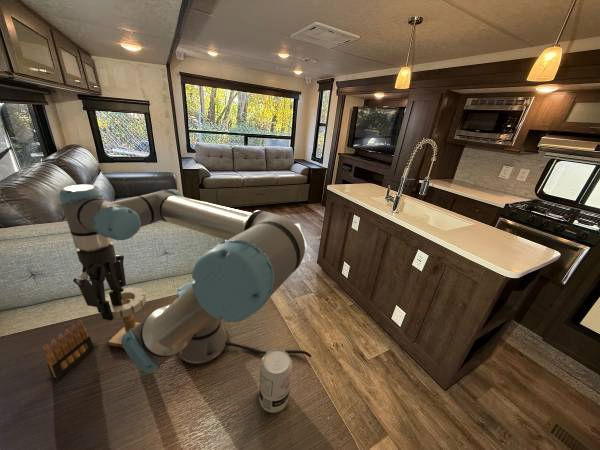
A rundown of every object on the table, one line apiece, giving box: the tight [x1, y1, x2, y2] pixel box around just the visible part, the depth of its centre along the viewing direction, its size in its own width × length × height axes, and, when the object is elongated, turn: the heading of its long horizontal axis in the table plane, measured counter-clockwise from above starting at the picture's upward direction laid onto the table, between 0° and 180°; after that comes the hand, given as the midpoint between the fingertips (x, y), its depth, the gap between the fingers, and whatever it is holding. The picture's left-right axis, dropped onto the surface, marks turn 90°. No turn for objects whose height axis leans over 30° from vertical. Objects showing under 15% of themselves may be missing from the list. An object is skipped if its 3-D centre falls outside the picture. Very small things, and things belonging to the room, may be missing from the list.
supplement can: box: [258, 348, 293, 414], centre depth 65 cm, size 8×8×15 cm
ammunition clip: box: [43, 319, 95, 380], centre depth 70 cm, size 11×2×12 cm, turn 169°
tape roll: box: [105, 287, 147, 320], centre depth 77 cm, size 11×11×3 cm
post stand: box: [107, 299, 141, 349], centre depth 80 cm, size 9×9×14 cm
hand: (113, 314), depth 73 cm, fingers closed on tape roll, 3 cm apart
